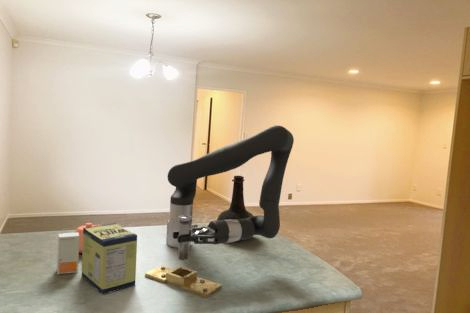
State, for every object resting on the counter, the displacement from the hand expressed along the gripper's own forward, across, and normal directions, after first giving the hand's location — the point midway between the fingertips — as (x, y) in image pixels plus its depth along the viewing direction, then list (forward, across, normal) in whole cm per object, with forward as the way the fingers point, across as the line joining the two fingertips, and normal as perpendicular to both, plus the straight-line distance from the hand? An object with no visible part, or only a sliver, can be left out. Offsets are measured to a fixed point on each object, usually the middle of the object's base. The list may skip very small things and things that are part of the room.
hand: (175, 237), depth 107 cm
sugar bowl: (+19, -39, +14) cm, 45 cm away
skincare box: (+28, -21, +14) cm, 38 cm away
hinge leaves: (-3, 0, +15) cm, 15 cm away
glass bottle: (-42, -34, +15) cm, 56 cm away
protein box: (+18, -9, +15) cm, 25 cm away
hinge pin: (-3, 0, +7) cm, 8 cm away
